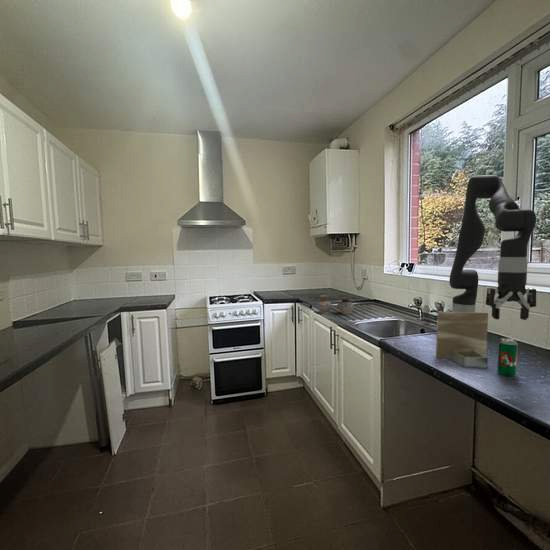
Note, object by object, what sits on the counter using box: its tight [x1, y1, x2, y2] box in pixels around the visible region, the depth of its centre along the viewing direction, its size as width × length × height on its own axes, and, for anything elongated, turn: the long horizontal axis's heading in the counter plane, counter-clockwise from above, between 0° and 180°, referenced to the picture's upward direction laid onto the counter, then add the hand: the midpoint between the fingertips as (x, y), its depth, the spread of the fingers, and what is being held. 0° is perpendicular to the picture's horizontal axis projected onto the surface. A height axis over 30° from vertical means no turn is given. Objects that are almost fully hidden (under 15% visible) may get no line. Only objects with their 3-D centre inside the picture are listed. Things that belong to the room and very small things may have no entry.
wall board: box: [435, 311, 489, 359], centre depth 119 cm, size 2×18×18 cm, turn 84°
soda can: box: [496, 337, 519, 378], centre depth 103 cm, size 5×5×12 cm
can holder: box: [449, 349, 488, 369], centre depth 114 cm, size 10×8×4 cm
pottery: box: [316, 294, 356, 316], centre depth 205 cm, size 11×25×12 cm, turn 79°
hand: (509, 319), depth 102 cm, fingers open, 8 cm apart
